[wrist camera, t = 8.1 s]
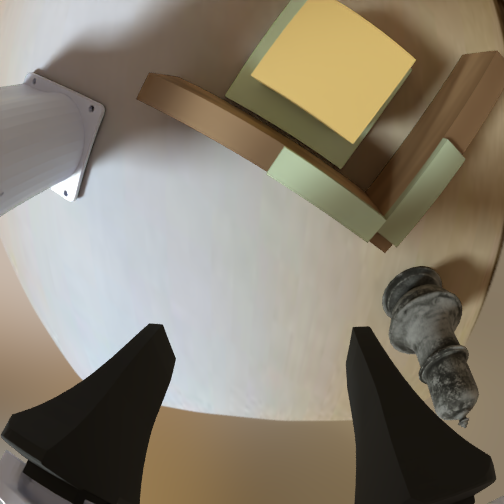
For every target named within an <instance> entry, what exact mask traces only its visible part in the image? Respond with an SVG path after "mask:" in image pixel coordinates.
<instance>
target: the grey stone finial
mask: <svg viewBox="0 0 504 504" xmlns="http://www.w3.org/2000/svg"><path fill="white" fill-rule="evenodd" d="M382 304H383V308H384V311H385V313H386V314H387V315H388V316H389V317H390V318H391V325H390V330H389V339H390V343H391V344H392V346H393V347H394V348H395V349H396V350H398V351H400V352H402V353H406V354H416V355H417V358H418V361H419V364H420V367H421V368H420V371H419V379H420V380H421V382H423V383H425V384H428V388H429V391H430V394H431V398H432V401H433V405H434V407H435V411H436V413H437V415H438V417H440V418H442V419H444V420H458V419H459V424H458V425H461V427H464V428H466V427H467V424H468V420H469V418H466V415H467V414H468V413H469V411H470V410H471V409H472V408H473V406H474V405H475V404H476V402H477V399H478V395H479V394H478V388H477V385H476V383H475V381H474V378H473V376H472V373H471V371H470V369H469V366H468V364H467V360H468V356H469V353H468V350H467V348H466V347H465V346H462V345H460V344H459V342H458V340H457V338H456V336H455V334H454V331H455V330H456V328H457V326H458V324H459V322H460V319H461V316H462V305H461V302H460V300H459V298H458V297H457V296H456V295H455V294H453V293H451V292H448V291H447V290H445V289H443V288H442V281H441V279H440V277H439V275H438V274H437V273H436V272H435V271H434V270H433V269H431V268H428V267H421V266H420V267H413V268H410V269H407V270H405V271H403V272H402V273H400V274H399V275H397V276H396V277H395V278H394V279H393V280H392V281H391V282H390V283H389V285H388V286H387V288H386V289H385V292H384V295H383V300H382Z"/></svg>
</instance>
